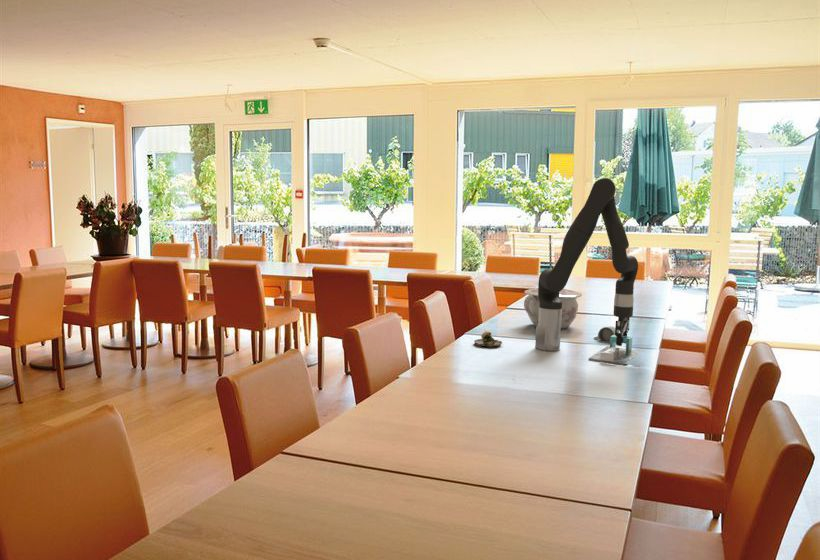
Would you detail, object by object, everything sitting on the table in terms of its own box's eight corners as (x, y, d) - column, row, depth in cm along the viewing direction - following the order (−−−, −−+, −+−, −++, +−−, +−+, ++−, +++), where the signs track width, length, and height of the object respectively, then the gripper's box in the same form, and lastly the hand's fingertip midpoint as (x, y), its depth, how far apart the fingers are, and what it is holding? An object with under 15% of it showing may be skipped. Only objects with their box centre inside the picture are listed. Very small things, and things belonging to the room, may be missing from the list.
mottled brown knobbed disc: (479, 349, 286) (480, 331, 285) (469, 343, 297) (470, 326, 296) (506, 348, 289) (507, 330, 288) (495, 342, 300) (496, 325, 299)
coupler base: (624, 366, 264) (625, 355, 263) (588, 360, 271) (589, 350, 270) (641, 353, 286) (641, 343, 285) (607, 348, 293) (607, 339, 292)
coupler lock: (628, 353, 280) (629, 339, 279) (607, 350, 284) (608, 336, 283) (631, 351, 284) (632, 337, 283) (611, 348, 288) (612, 334, 288)
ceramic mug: (620, 342, 306) (620, 325, 306) (613, 345, 300) (614, 328, 299) (597, 339, 312) (598, 323, 312) (590, 342, 306) (591, 325, 305)
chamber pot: (575, 322, 351) (578, 282, 348) (583, 333, 324) (586, 289, 321) (519, 320, 353) (521, 279, 351) (523, 330, 326) (525, 287, 324)
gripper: (629, 308, 274) (626, 348, 277) (636, 303, 287) (634, 341, 289) (609, 306, 278) (607, 345, 280) (618, 301, 290) (616, 339, 292)
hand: (621, 343), depth 284 cm, fingers open, 8 cm apart
